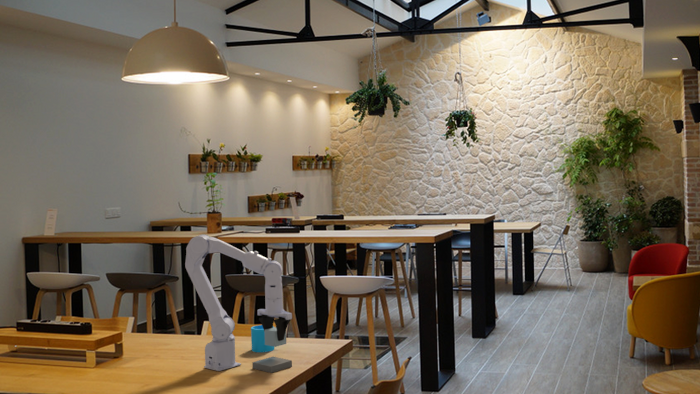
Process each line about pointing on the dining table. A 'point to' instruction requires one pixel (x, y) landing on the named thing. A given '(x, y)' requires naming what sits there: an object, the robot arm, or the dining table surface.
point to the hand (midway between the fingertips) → (275, 339)
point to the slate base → (272, 364)
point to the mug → (259, 340)
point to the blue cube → (273, 338)
